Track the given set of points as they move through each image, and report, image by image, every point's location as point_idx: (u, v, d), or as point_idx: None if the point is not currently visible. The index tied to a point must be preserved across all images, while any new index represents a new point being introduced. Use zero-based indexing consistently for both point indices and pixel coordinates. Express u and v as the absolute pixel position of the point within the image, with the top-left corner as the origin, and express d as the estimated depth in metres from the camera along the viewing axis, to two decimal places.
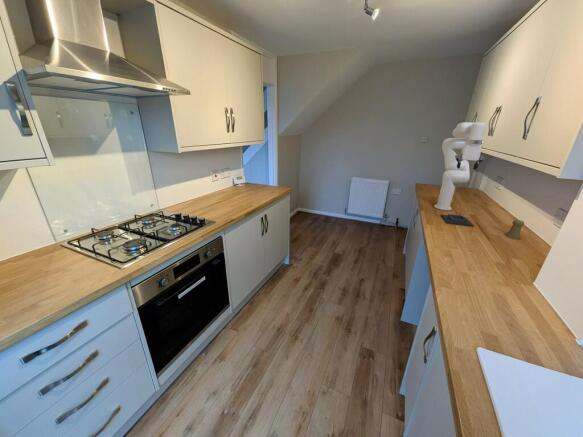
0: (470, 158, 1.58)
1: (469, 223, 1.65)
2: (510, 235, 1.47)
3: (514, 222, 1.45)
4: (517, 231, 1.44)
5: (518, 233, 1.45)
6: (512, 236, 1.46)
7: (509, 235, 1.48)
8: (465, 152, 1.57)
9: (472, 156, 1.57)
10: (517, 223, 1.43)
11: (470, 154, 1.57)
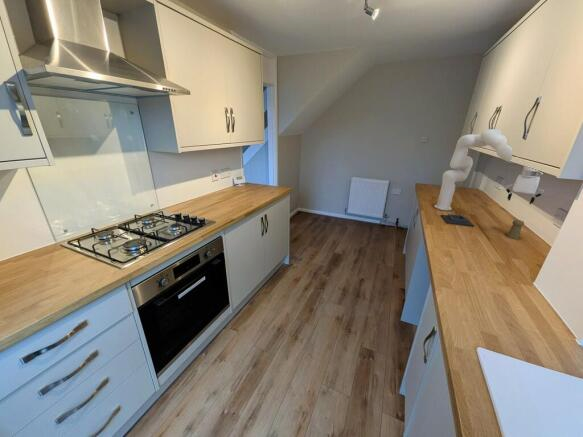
0: (523, 190, 1.39)
1: (469, 223, 1.65)
2: (510, 235, 1.47)
3: (514, 222, 1.45)
4: (517, 231, 1.44)
5: (518, 233, 1.45)
6: (512, 236, 1.46)
7: (509, 235, 1.48)
8: (516, 183, 1.40)
9: (526, 189, 1.38)
10: (517, 223, 1.43)
11: (523, 186, 1.38)
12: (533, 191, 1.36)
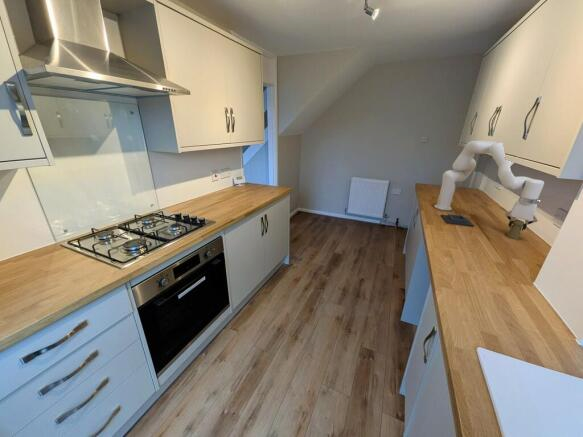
0: (520, 216, 1.42)
1: (469, 223, 1.65)
2: (510, 235, 1.47)
3: (514, 222, 1.45)
4: (517, 231, 1.44)
5: (518, 233, 1.45)
6: (512, 236, 1.46)
7: (509, 235, 1.48)
8: (514, 209, 1.43)
9: (523, 215, 1.41)
10: (517, 223, 1.43)
11: (521, 213, 1.41)
12: (530, 218, 1.39)
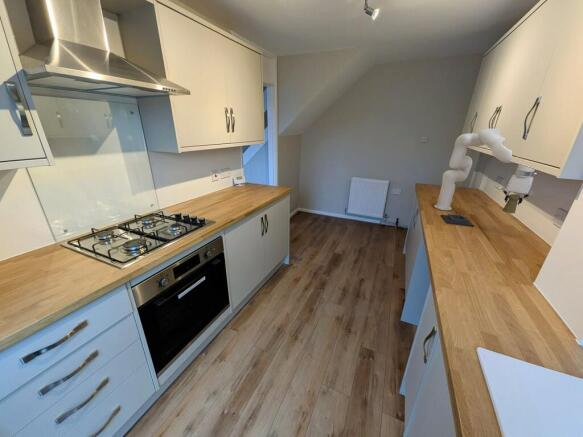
0: (516, 190, 1.41)
1: (469, 223, 1.65)
2: (506, 210, 1.46)
3: (510, 196, 1.44)
4: (513, 205, 1.44)
5: (514, 207, 1.44)
6: (508, 211, 1.45)
7: (505, 210, 1.47)
8: (510, 183, 1.42)
9: (519, 188, 1.40)
10: (513, 197, 1.42)
11: (517, 186, 1.40)
12: (526, 191, 1.38)
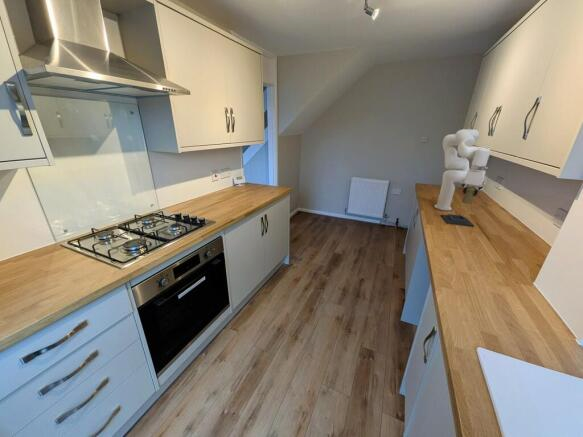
0: (472, 183, 1.57)
1: (469, 223, 1.65)
2: (464, 201, 1.62)
3: (467, 188, 1.60)
4: (470, 196, 1.60)
5: (471, 198, 1.60)
6: (466, 201, 1.62)
7: (463, 201, 1.63)
8: (467, 176, 1.58)
9: (474, 181, 1.56)
10: (469, 189, 1.59)
11: (472, 179, 1.57)
12: (480, 183, 1.54)
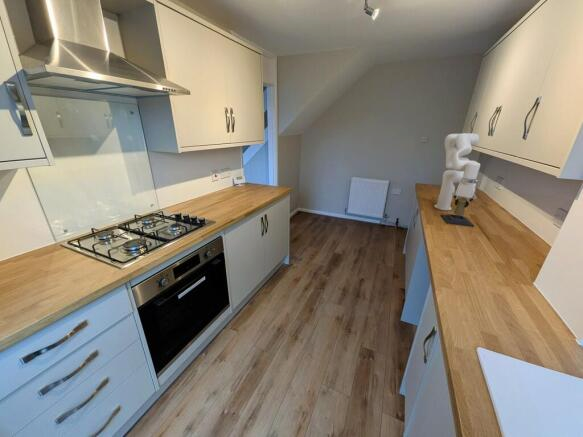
0: (463, 195, 1.63)
1: (469, 223, 1.65)
2: (456, 212, 1.68)
3: (458, 200, 1.66)
4: (461, 208, 1.65)
5: (462, 210, 1.66)
6: (457, 213, 1.67)
7: (455, 212, 1.68)
8: (458, 189, 1.64)
9: (465, 193, 1.62)
10: (461, 201, 1.64)
11: (463, 191, 1.62)
12: (470, 196, 1.60)
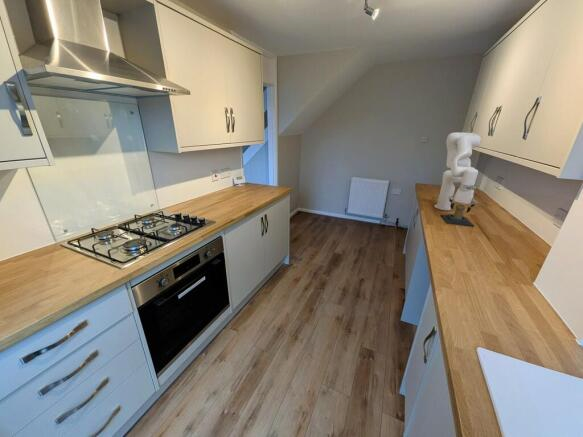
0: (461, 201, 1.64)
1: (469, 223, 1.65)
2: None
3: (457, 206, 1.67)
4: (459, 214, 1.67)
5: (460, 216, 1.67)
6: None
7: None
8: (456, 195, 1.66)
9: (463, 199, 1.63)
10: (459, 207, 1.66)
11: (461, 198, 1.64)
12: (468, 202, 1.61)
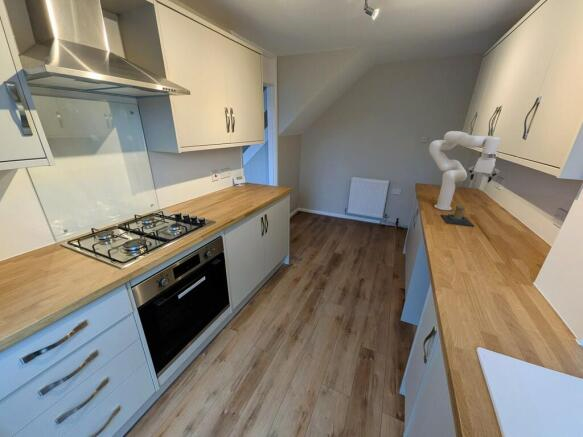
0: (482, 171, 1.62)
1: (469, 223, 1.65)
2: None
3: (457, 206, 1.67)
4: (459, 214, 1.67)
5: (460, 216, 1.67)
6: None
7: None
8: (477, 164, 1.63)
9: (484, 169, 1.61)
10: (459, 207, 1.66)
11: (482, 167, 1.61)
12: (490, 171, 1.59)
